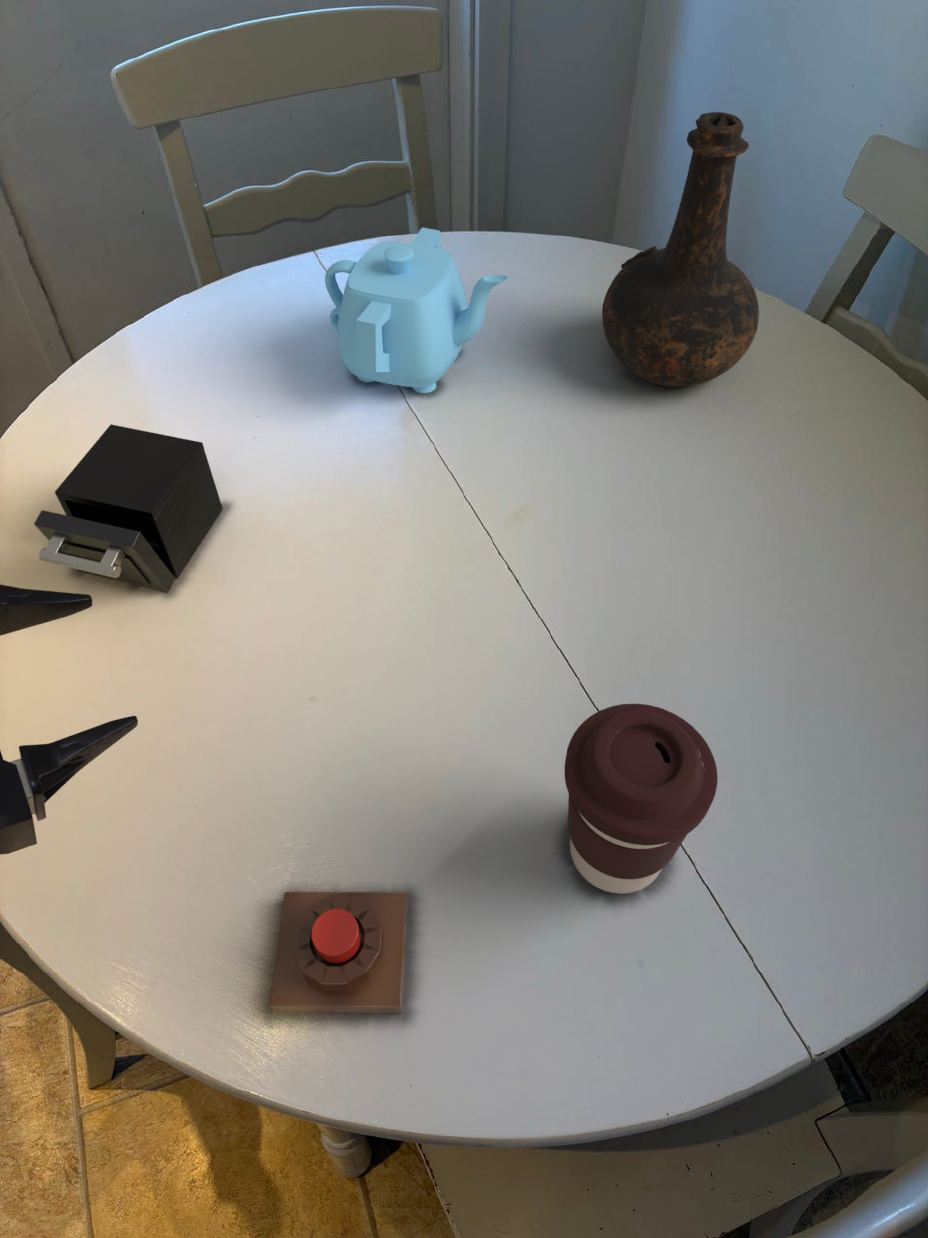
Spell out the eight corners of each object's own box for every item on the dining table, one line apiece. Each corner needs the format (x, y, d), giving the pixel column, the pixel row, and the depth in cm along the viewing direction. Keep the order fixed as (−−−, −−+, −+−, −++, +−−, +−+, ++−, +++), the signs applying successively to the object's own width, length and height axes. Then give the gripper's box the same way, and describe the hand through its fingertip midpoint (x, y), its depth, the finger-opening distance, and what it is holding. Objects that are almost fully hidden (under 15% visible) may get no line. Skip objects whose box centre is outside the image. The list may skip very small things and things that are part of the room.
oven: (177, 578, 87) (151, 513, 80) (87, 558, 88) (54, 491, 81) (223, 509, 93) (202, 442, 86) (137, 490, 94) (110, 423, 87)
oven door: (157, 616, 85) (119, 571, 77) (65, 594, 86) (19, 548, 79) (175, 578, 86) (140, 531, 78) (85, 557, 88) (41, 509, 80)
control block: (273, 1013, 62) (263, 998, 59) (288, 900, 67) (280, 882, 64) (402, 1013, 62) (399, 999, 59) (407, 900, 67) (404, 882, 64)
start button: (312, 963, 61) (308, 955, 59) (317, 917, 63) (313, 908, 61) (359, 964, 61) (356, 955, 59) (362, 917, 63) (360, 908, 61)
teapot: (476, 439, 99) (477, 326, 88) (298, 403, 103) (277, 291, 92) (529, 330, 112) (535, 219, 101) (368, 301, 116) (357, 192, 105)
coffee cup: (541, 896, 67) (555, 805, 55) (563, 781, 73) (580, 677, 61) (674, 927, 65) (718, 840, 53) (686, 807, 71) (727, 705, 59)
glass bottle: (666, 303, 115) (711, 64, 93) (775, 368, 107) (854, 121, 85) (565, 356, 108) (588, 111, 86) (673, 430, 100) (730, 178, 78)
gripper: (-167, 847, 41) (172, 738, 48) (-245, 519, 47) (68, 470, 54) (-121, 902, 50) (159, 803, 57) (-192, 622, 56) (70, 566, 63)
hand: (113, 659), depth 58 cm, fingers open, 9 cm apart
